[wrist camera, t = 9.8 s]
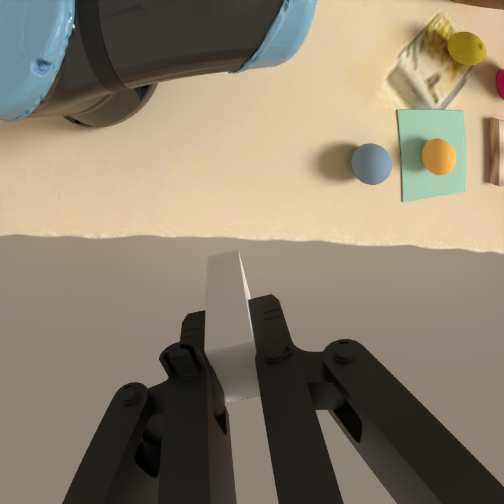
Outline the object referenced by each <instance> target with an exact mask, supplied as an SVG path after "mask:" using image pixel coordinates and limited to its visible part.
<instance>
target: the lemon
mask: <svg viewBox="0 0 504 504" xmlns="http://www.w3.org/2000/svg"><path fill="white" fill-rule="evenodd" d="M447 47H448V51H449V53H450V55H451V57H452V58H453V59H454V60H455V61H457V62H458V63H460V64H463V65H475V64H478V63H480V62H482V61H483V60H484V58H485V55H486V49H485V46H484V44H483V42H482V41H481V39H480V38H479V37H478V36H476V35H474V34H472V33H469V32H458V33H455V34H453V35H452V36H451V37H450V38H449V40H448V43H447Z"/></svg>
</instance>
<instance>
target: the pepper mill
mask: <svg viewBox="0 0 504 504" xmlns="http://www.w3.org/2000/svg"><path fill="white" fill-rule="evenodd" d="M496 82H497V88H498V91H499V93H500V95H501V97H502V98H503V99H504V70H500V71H499V72H498V74H497V78H496Z"/></svg>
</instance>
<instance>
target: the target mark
mask: <svg viewBox="0 0 504 504" xmlns="http://www.w3.org/2000/svg"><path fill="white" fill-rule="evenodd" d="M397 114H398V124H399V135H400V148H401V166H402V202H405V201H411V200H417V199H423V198H429V197H436V196H442V195H448V194H454V193H461V192H465V185H466V143H465V123H464V111H451V110H397ZM436 138H439V139H443V140H445V141H447V142H448V143H449V144H450V145H451V146H452V147H453V149H454V151H455V154H456V163H455V166H454V168H453V169H452V170H451V171H450V172H449V173H448V174H445V175H436V174H433V173H431V172H430V171H429V170H428V169H427V168H426V167H425V165H424V164H423V161H422V149H423V147H424V145H425V144H426V143H427V142H428V141H429V140H432V139H436Z"/></svg>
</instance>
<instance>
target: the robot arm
mask: <svg viewBox="0 0 504 504" xmlns="http://www.w3.org/2000/svg"><path fill="white" fill-rule="evenodd" d="M316 3H317V0H0V120H5V121H6V120H7V121H8V122H12V121H18V120H21V119H23V118H31V117H42V116H57V115H62V116H63V117H65V118H66V119H67V120H69V121H70V122H72V123H74V124H76V125H79V126H83V127H89V128H98V127H107V126H112V125H115V124H118V123H121V122H123V121H125V120H126V119H128V118H130V117H131V116H133V115H134V114H135V113H137V112H138V111H139V110H140V109H141V108H142V107H143V106H144V105H145V104H146V103H147V101H148V100H149V99H150V97H151V96H152V94H153V92H154V90H155V88H156V86H157V84H158V82H163V81H168V80H173V79H179V78H185V77H191V76H197V75H204V74H211V73H219V72H227V71H228V72H229V73H232V74H234V73H240V72H243V71H245V70H247V69H255V68H265V67H274V66H278V65H280V64H281V63H284V62H286V61H287V60H289V59H291V58H292V57H293V56H294V55H295V54H296V53H297V51H298V50H299V49H300V47H301V46H302V44H303V42H304V40H305V38H306V36H307V34H308V32H309V29H310V26H311V23H312V20H313V16H314V13H315V8H316ZM207 267H208V268H207V288H206V310H204V311H199V312H194V313H190V314H188V315H187V316H186V318H185V319H184V321H183V322H182V328H181V337H180V339H181V340H180V342H178V343H174V344H172V345H170V346H169V347H167V348H166V349H165V350H164V351H163V352H162V353H161V355H160V357H159V360H160V362H161V364H162V366H163V367H164V369H165V371H166V373H167V374H168V376H169V377H168V379H167V380H166V381H164V382H162V383H160V384H158V385H156V386H153V387H151V388H148V389H147V387H146V386H145V385H143V384H141V383H138V382H135V383H129V384H126V385H124V386H123V387H121V388H120V389H119V390H118V391H117V392H116V394H115V396H114V397H113V399H112V401H111V403H110V405H109V407H108V409H107V411H106V413H105V415H104V417H103V418H102V420H101V423H100V425H99V426H98V429H97V430H96V433H95V434H94V437H93V439H92V441H91V443H90V445H89V447H88V449H87V451H86V453H85V455H84V457H83V459H82V462H81V464H80V466H79V468H78V470H77V472H76V474H75V477H74V479H73V481H72V483H71V485H70V487H69V490H68V492H67V494H66V496H65V499H64V501H63V503H62V504H237V503H236V492H235V482H234V472H233V461H232V449H231V437H230V425H229V414H228V411H227V408H226V406H225V401H224V396H225V398H226V400H227V402H232V401H237V400H243V399H248V398H253V397H257V396H261V401H262V408H263V413H264V419H265V426H266V432H267V438H268V444H269V450H270V455H271V462H272V467H273V473H274V479H275V485H276V490H277V496H278V501H279V504H343V500H342V497H341V493H340V490H339V487H338V484H337V480H336V477H335V473H334V470H333V467H332V464H331V460H330V457H329V454H328V450H327V447H326V444H325V440H324V437H323V434H322V430H321V427H320V424H319V421H318V418H317V414H316V411H315V410H328V412H329V413H330V414H331V416H332V417H333V419H334V420H335V421H336V423H337V424H338V425H339V427H340V428H341V430H342V431H343V432H344V434H345V435H346V436H347V438H348V439H349V440H350V442H351V443H352V444H353V446H354V447H355V449H356V450H357V451H358V453H359V454H360V455H361V456H362V458H363V459H364V461H365V462H366V463H367V464H368V466H369V467H370V469H371V470H372V471H373V473H374V474H375V475H376V477H377V478H378V479H379V480H380V482H381V483H382V484H383V486H384V487H385V488H386V490H387V491H388V492H389V493H390V495H391V496H392V497H393V499H394V500H395V501H396V503H397V504H504V487H503V486H502V485H501V484H500V482H498V480H497V479H496V478H495V477H494V476H493V475H492V474H491V473H490V472H489V471H488V470H487V469H486V468H485V467H484V466H483V465H482V464H481V463H480V462H479V461H478V460H477V459H476V458H475V457H474V456H473V455H472V454H471V453H470V452H469V451H468V450H467V449H466V448H465V447H464V446H463V445H462V444H461V443H460V442H459V441H458V440H457V439H456V438H455V437H454V436H453V435H452V434H451V433H450V432H449V431H448V430H447V429H446V428H445V427H444V426H443V425H442V424H441V423H440V422H439V421H438V420H437V419H436V418H435V417H434V416H433V415H432V414H431V413H430V412H429V411H428V410H427V409H426V408H425V407H424V406H423V405H422V404H421V403H420V402H419V401H418V400H417V399H416V398H415V397H414V396H413V395H412V394H411V393H410V392H409V391H408V390H407V389H406V388H405V387H404V386H403V385H402V384H401V383H400V382H399V381H398V380H397V379H396V378H395V377H394V376H393V375H392V374H391V373H390V372H389V371H388V370H387V369H386V368H385V367H384V366H383V365H382V364H381V363H380V362H379V361H378V360H377V359H376V358H375V357H374V356H373V355H372V354H371V353H370V352H369V351H368V350H367V349H366V348H365V347H364V346H363V345H361V344H360V343H358V342H357V341H354V340H350V339H341V340H337V341H334V342H332V343H330V344H329V345H328V346H327V347H326V348H325V350H324V351H323V352H308V351H304V350H301V349H299V348H297V347H296V346H295V345H294V344H293V342H292V340H291V337H290V333H289V330H288V327H287V324H286V321H285V318H284V314H283V311H282V308H281V306H280V302H279V300H278V299H277V298H276V297H274V296H273V295H272V294H270V295H267V296H262V297H258V298H254V299H251V298H250V294H249V290H248V286H247V282H246V278H245V274H244V270H243V266H242V262H241V258H240V255H239V251H238V250H234V251H230V252H226V253H222V254H217V255H213V256H209V257H208V266H207Z"/></svg>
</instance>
